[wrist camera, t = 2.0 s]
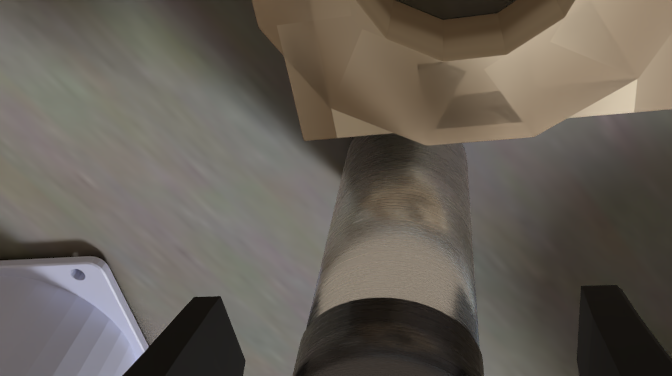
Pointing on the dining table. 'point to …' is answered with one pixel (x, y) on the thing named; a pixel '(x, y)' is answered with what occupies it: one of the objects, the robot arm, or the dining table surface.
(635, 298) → the dining table surface
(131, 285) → the dining table surface
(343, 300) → the salt shaker
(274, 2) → the socket block
